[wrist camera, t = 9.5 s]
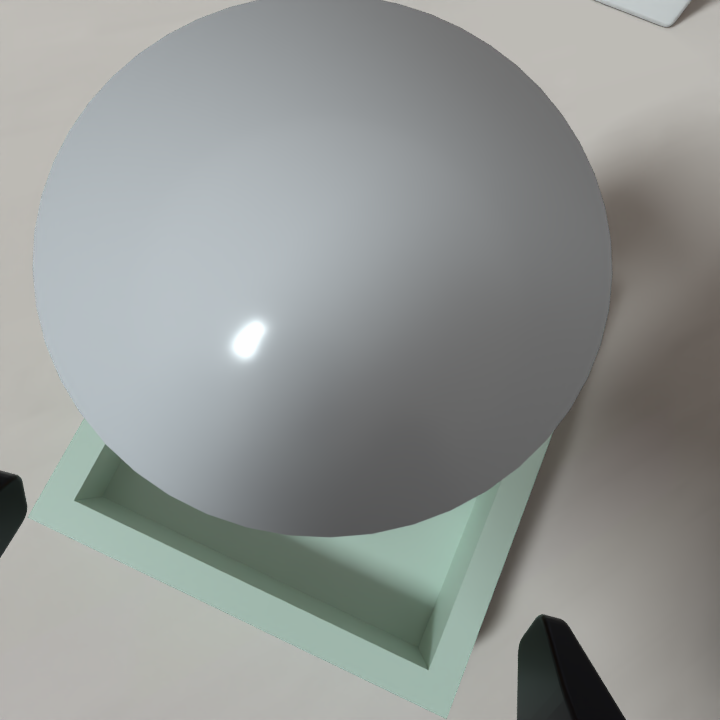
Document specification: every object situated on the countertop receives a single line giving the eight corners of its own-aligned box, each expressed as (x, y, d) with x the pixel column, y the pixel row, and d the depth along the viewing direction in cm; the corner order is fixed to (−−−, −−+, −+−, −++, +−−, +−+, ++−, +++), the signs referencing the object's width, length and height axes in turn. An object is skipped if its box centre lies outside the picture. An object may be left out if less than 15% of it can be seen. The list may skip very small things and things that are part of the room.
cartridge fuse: (413, 458, 19) (698, 438, 4) (284, 495, 18) (90, 620, 4) (378, 334, 20) (508, -48, 5) (253, 366, 19) (-7, 49, 5)
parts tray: (428, 678, 18) (446, 719, 15) (75, 508, 19) (27, 517, 16) (562, 329, 21) (599, 308, 18) (251, 190, 22) (238, 147, 19)
